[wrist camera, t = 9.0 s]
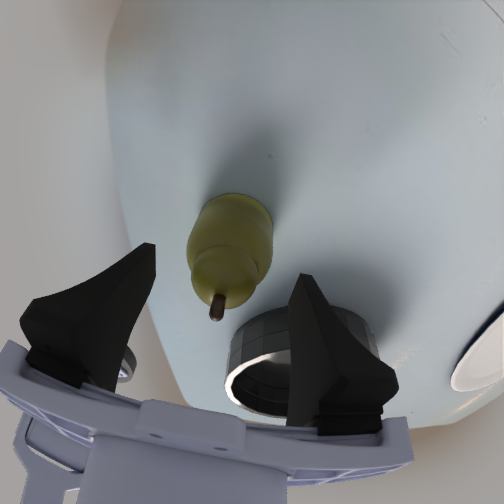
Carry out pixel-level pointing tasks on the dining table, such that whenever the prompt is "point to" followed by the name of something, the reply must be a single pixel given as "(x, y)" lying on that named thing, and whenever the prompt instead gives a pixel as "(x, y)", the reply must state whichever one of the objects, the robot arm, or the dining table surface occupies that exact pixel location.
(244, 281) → the pear
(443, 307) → the dining table surface
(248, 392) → the pan
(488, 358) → the plate
